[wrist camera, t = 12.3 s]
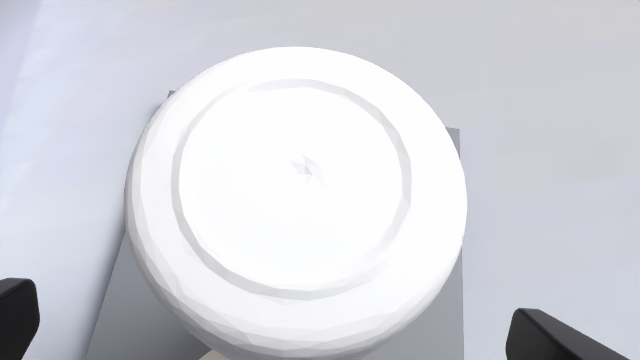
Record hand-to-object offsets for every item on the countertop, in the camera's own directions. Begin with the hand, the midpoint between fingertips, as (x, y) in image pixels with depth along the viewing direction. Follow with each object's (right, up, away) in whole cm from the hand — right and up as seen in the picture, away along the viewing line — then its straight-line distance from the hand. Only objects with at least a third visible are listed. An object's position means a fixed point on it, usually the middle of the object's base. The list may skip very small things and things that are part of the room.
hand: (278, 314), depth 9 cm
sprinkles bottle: (0, -3, +9) cm, 10 cm away
